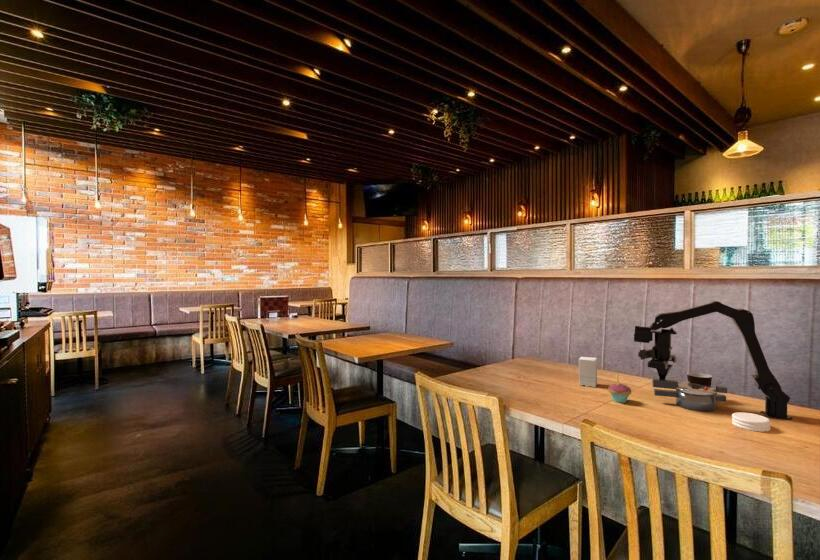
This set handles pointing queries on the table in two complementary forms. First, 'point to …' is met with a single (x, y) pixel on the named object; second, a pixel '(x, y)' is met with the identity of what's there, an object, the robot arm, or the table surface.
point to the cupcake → (619, 392)
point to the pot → (692, 400)
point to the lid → (688, 387)
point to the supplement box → (588, 371)
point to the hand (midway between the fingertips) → (662, 382)
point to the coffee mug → (699, 378)
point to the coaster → (751, 421)
